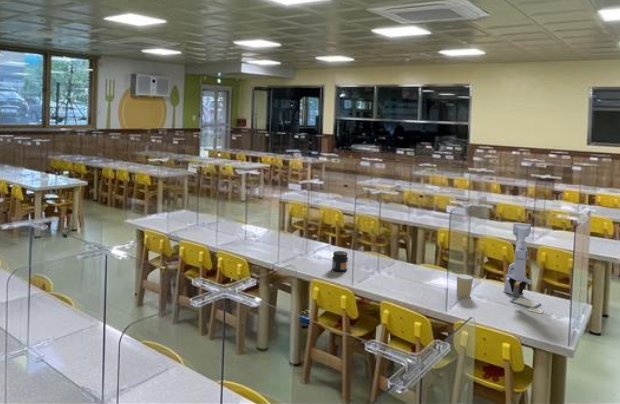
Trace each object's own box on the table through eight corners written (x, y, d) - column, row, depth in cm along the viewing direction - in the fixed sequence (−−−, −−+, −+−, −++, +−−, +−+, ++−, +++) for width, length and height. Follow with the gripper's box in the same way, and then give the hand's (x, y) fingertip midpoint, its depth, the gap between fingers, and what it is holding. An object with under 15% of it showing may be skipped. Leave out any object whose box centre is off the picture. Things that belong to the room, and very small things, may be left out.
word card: (528, 310, 295) (528, 309, 295) (530, 307, 299) (530, 307, 299) (541, 313, 291) (541, 313, 291) (543, 311, 295) (543, 310, 295)
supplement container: (350, 271, 353) (351, 254, 351) (337, 273, 348) (338, 255, 346) (341, 266, 362) (342, 250, 360) (328, 268, 357) (329, 251, 355)
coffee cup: (468, 293, 319) (470, 274, 317) (473, 298, 310) (475, 279, 308) (453, 292, 319) (454, 274, 317) (457, 298, 310) (459, 279, 308)
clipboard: (509, 301, 308) (510, 299, 307) (517, 297, 315) (517, 295, 314) (533, 308, 298) (533, 306, 298) (540, 304, 305) (541, 302, 305)
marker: (511, 296, 300) (512, 283, 299) (514, 294, 303) (515, 281, 302) (518, 298, 298) (519, 285, 296) (521, 296, 300) (522, 283, 299)
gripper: (503, 268, 300) (501, 290, 302) (529, 274, 290) (526, 298, 292) (509, 265, 305) (506, 288, 307) (534, 272, 294) (531, 295, 297)
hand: (516, 292), depth 300 cm, fingers closed on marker, 4 cm apart
